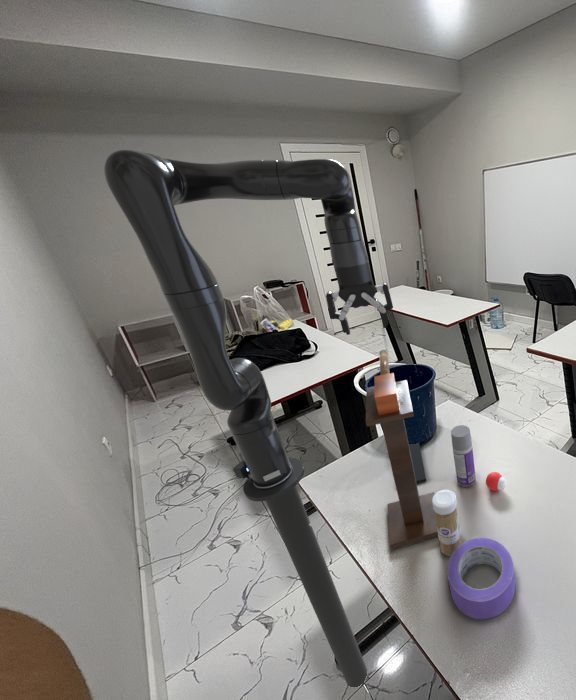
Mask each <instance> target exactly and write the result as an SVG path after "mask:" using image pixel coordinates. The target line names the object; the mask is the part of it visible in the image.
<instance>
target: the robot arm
mask: <svg viewBox="0 0 576 700" xmlns="http://www.w3.org/2000/svg"><path fill="white" fill-rule="evenodd" d="M103 171H104V178H105V182H106V184H107V186H108V188H109V190H110V193H111V194H112V195H113V197H114V199H115V201H116V202H117V205H118V206H119V208H120V209H121V211H122V213H123V214H124V217H125V218H126V219H127V221H128V223H129V225H130V226H131V228H132V230H133V232H134V233H135V235H136V237H137V239H138V240H139V243H140V245H141V247H142V249H143V251H144V254H145V256H146V258H147V260H148V263H149V265H150V267H151V269H152V271H153V274H154V275H155V277H156V280H157V282H158V284H159V288H160V290H161V292H162V294H163V297H164V298H165V301H166V303H167V305H168V308H169V310H170V311H171V313H172V315H173V318H174V319H175V321H176V323H177V326H178V329H179V331H180V334H181V335H182V338H183V340H184V342H185V345H186V347H187V349H188V352H189V354H190V357H191V360H192V364H193V367H194V370H195V373H196V376H197V380H198V383H199V387H200V388H201V391H202V393H203V396H204V397H205V398H206V400H207V401H208V402H209V403H210V404H211V405H212V406H213V407H215V408H217V409H218V410H222V411H225V412H226V411H229V414H228V416H227V420H226V425H227V427H228V429H229V431H230V433H231V435H232V438H233V440H234V442H235V444H236V447H237V449H238V451H239V453H238V455H239V457H240V460H241V461H240V462H238V463H237V464H236V465H235V466H234V467H232V470H233V472H234V475H235V477H236V478H238V479H242V480H243V479H244V480H245V479H247V478H248V479H249V478H250V480H251V482H252V483H253V484H254V486H255V487H256V488H257V489H260V490H267V489H271V488H274V487H277V486H279V485H280V484H282V483H284V482H285V481H286V480H287V479H288V478H289V477H290V476H291V474H292V472H293V467H292V464H291V463H290V460H289V458H288V457H289V454H288V453H287V449H286V447H285V444H284V442H283V438H282V437H281V434H280V432H279V429H278V427H277V424H276V422H275V421H276V420H275V418H274V416H273V414H272V400H271V396H270V393H269V390H268V386H267V383H266V381H265V378H264V375H263V373H262V371H261V370H260V368H259V367H258V366H257V365H256V363H254V362H253V361H252V360H250V359H247V358H245V357H244V358H243V357H235V358H232V359H230V358H229V357H230V356H229V354H228V350H227V347H226V332H227V305H226V301H225V298H224V295H223V293H222V290H221V288H220V285H219V283H218V280H217V277H216V276H215V274H214V272H213V270H212V269H211V268H210V266H209V265H208V263H207V262H206V260H205V259H204V258H203V257H202V256H201V254H200V253H199V252H198V250H197V249H195V247H194V245H193V244H192V243H191V242H190V240H189V238H188V236H187V235H186V233H185V231H184V229H183V227H182V225H181V224H182V223H181V222H180V218H179V216H178V214H177V210H176V208H175V206H178V205H183V204H187V203H188V204H189V203H193V202H199V201H207V200H219V199H220V200H221V199H231V200H249V201H286V200H287V201H289V200H290V201H291V200H297V199H319V200H320V201H321V205H322V209H323V213H324V227H325V231H326V235H327V240H328V244H329V250H330V256H331V263H332V266H333V268H334V273H335V277H336V281H337V285H338V291H331V290H328V291H327V292H326V294H325V298H326V304H327V308H328V313H329V318H330V319H331V320H338V321H339V322H340V326H341V330H342V332H343V333H344V334H346V336H349V335H351V329H350V325H349V321H348V317H347V315H348V312H349V311H350V309H351V308H354V309H358V308H361V307H369V305H372V307H373V308H375V309H377V311H378V312H380V319H381V323H382V328H383V329H386V328H387V326H389V319H388V314H387V312H388V311H390V310H393V309H394V304H393V301H392V297H391V292H390V289H389V286H388V285H389V284H388V282H382V283H381V284H378V285H377V284H374V280H373V276H372V270H371V265H370V261H369V255H368V252H367V247H366V244H365V241H364V237H363V234H362V229H361V224H360V220H359V217H358V214H357V210H356V203H355V197H354V190H353V184H352V179H351V175H350V173H349V171H348V170H347V169H346V167H345V166H344V165H343V164H341V163H340V162H339V161H337V160H333V159H330V158H315V159H314V158H313V159H312V158H311V159H300V160H282V159H251V160H249V159H248V160H237V161H236V160H235V161H227V162H218V163H201V162H189V161H183V160H177V159H171V158H165V157H161V156H159V155H157V154H153V153H149V152H145V151H144V152H143V151H138V150H133V149H117V150H115V151H113V152H111V153H110V154H109V155H108V156H107V157H106V159H105V162H104V165H103ZM377 292H379V293H380V294H381V295H384V298H385V304H382V302H380V301H379V299H378V298H377V297H375V295H376V293H377ZM338 297H339V298H340V299H341V300H342V301H343V302H344V304H343V307H342V308H341V310H340V312H338V311H337V309H336V303H335V302H337V299H338Z"/></svg>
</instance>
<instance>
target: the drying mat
mask: <svg viewBox="0 0 576 700" xmlns="http://www.w3.org/2000/svg"><path fill="white" fill-rule="evenodd" d="M409 448H410V453H411V458H412V463H413V468H414V473H415V478H416V483H417V484H418V483H423V482H426V481H427V476H426V472H425V466H424V461H423V457H422V451H421V445H420V442H419V443H416V444H409Z"/></svg>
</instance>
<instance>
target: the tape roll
mask: <svg viewBox="0 0 576 700" xmlns="http://www.w3.org/2000/svg"><path fill="white" fill-rule="evenodd" d="M449 557H450V558H449V560H448V563H447V578H448V583H449V588H450V589H449V590H450V594H451V598H452V600H453V602H454V605H455V606H456V608H458V610H459V611H460V612H461V613H462V614H464V615H465V616H466V617H469V618H471V619H473V620H489V619H493V618H495V617H497V616H499V615H501V614H502V613H503V612H504V611H505V610H506V609H507V608H508V607H509V606H510V605H511V603H512V601H513V599H514V595H515V591H516V580H515V579H516V578H515V567H514V561H513V558H512V556H511V553H510V552H509V550H508V549H507V548H506V547H505V545H504V544H502V543H500V542H499V541H497V540H495V539H492V538H489V537H483V536H481V537H474V538H470V539H468V540H465V541H463V542H462V544H461V545H459V546H458V547H457V548H456V549H455V551H454V552H453V554H452V555H451V556H449ZM478 565H479V566H480V565H488V566H491V567H493V568H495V569H496V570H497V571H498V572H499V574H500V575H499V577H498V579H497V581H495V582H494V583H493V584H492V585H490V586H488V587H485V588H475V587H472V586H470V585H468V584H467V583H466V582H465V581H464V580H463V579H464V577H465V575H466V573H467V572H468V571H469V570H470V569H471V568H474V567H475V566H478Z"/></svg>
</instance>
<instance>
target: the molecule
mask: <svg viewBox="0 0 576 700" xmlns="http://www.w3.org/2000/svg"><path fill="white" fill-rule="evenodd" d="M485 485H486V487H487V488H488V489H489V490H491V491H492V492H498V491H503V490H505V489H506V487H507V480H506V478H505V477H504V476H502V475H501V473H500V472H497V471H492V472H490V473H488V474H487V476H486V477H485Z"/></svg>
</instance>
